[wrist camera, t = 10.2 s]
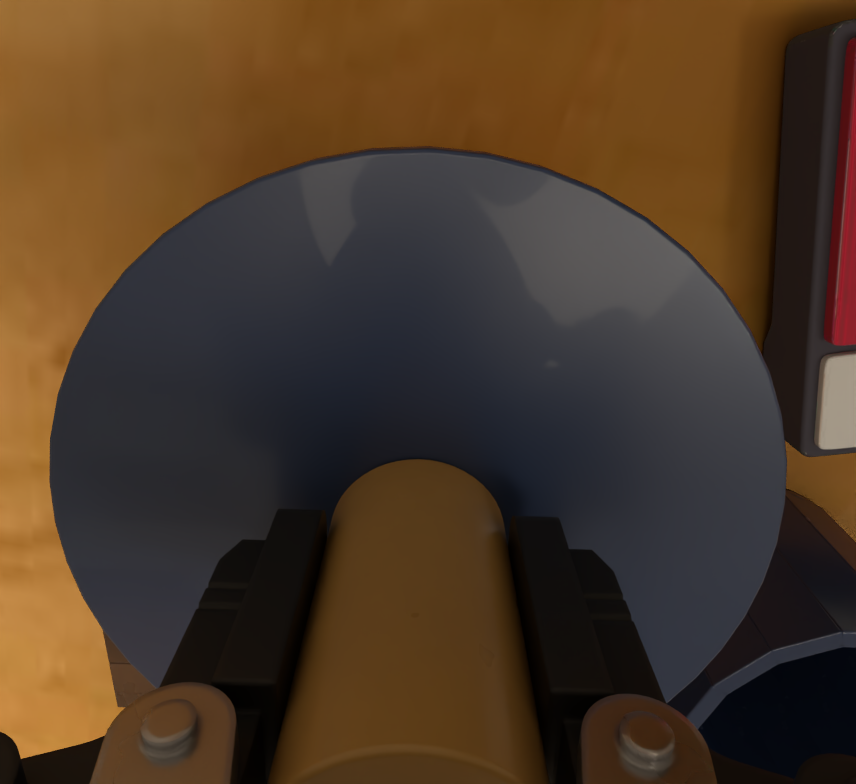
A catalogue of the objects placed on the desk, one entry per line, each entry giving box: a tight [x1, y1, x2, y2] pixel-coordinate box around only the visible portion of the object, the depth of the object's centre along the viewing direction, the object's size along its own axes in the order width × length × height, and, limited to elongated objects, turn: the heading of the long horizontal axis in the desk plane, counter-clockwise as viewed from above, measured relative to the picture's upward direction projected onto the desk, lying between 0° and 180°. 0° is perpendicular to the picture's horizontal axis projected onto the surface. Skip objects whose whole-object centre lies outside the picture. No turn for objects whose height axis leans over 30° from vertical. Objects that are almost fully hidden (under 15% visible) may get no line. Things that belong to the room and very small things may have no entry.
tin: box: [667, 489, 856, 779], centre depth 28 cm, size 11×11×10 cm
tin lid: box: [50, 146, 787, 784], centre depth 10 cm, size 13×13×7 cm
